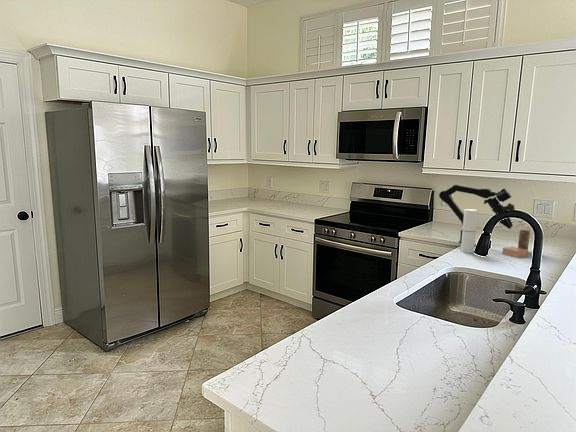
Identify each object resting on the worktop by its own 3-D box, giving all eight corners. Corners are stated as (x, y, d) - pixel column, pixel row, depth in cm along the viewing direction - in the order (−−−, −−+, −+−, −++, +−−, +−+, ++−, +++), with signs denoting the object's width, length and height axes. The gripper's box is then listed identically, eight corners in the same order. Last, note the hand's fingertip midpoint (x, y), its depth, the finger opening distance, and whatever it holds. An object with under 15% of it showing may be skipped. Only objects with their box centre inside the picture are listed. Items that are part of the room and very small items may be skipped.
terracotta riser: (502, 254, 235) (503, 248, 235) (511, 253, 240) (512, 246, 239) (517, 258, 228) (518, 251, 227) (526, 256, 232) (527, 249, 231)
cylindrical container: (460, 251, 239) (463, 210, 235) (461, 249, 245) (464, 208, 241) (473, 253, 235) (477, 211, 232) (474, 251, 242) (478, 209, 238)
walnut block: (517, 251, 242) (519, 230, 240) (519, 250, 246) (521, 229, 244) (526, 253, 239) (528, 231, 237) (527, 251, 243) (530, 230, 241)
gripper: (506, 200, 240) (522, 222, 236) (509, 198, 255) (525, 218, 252) (489, 210, 246) (504, 232, 242) (493, 207, 261) (508, 228, 258)
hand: (511, 227), depth 248 cm, fingers open, 9 cm apart
